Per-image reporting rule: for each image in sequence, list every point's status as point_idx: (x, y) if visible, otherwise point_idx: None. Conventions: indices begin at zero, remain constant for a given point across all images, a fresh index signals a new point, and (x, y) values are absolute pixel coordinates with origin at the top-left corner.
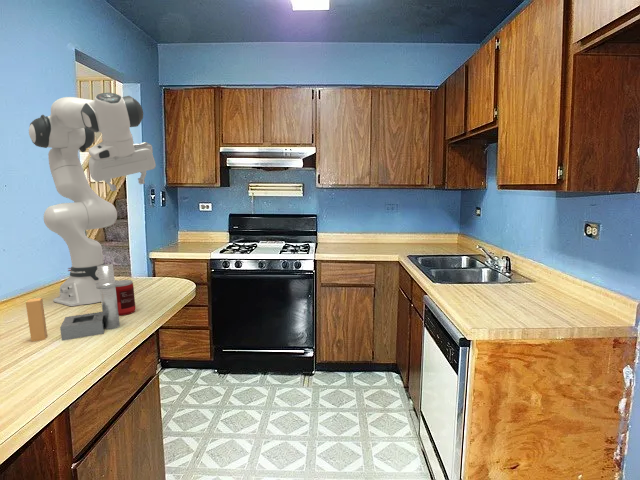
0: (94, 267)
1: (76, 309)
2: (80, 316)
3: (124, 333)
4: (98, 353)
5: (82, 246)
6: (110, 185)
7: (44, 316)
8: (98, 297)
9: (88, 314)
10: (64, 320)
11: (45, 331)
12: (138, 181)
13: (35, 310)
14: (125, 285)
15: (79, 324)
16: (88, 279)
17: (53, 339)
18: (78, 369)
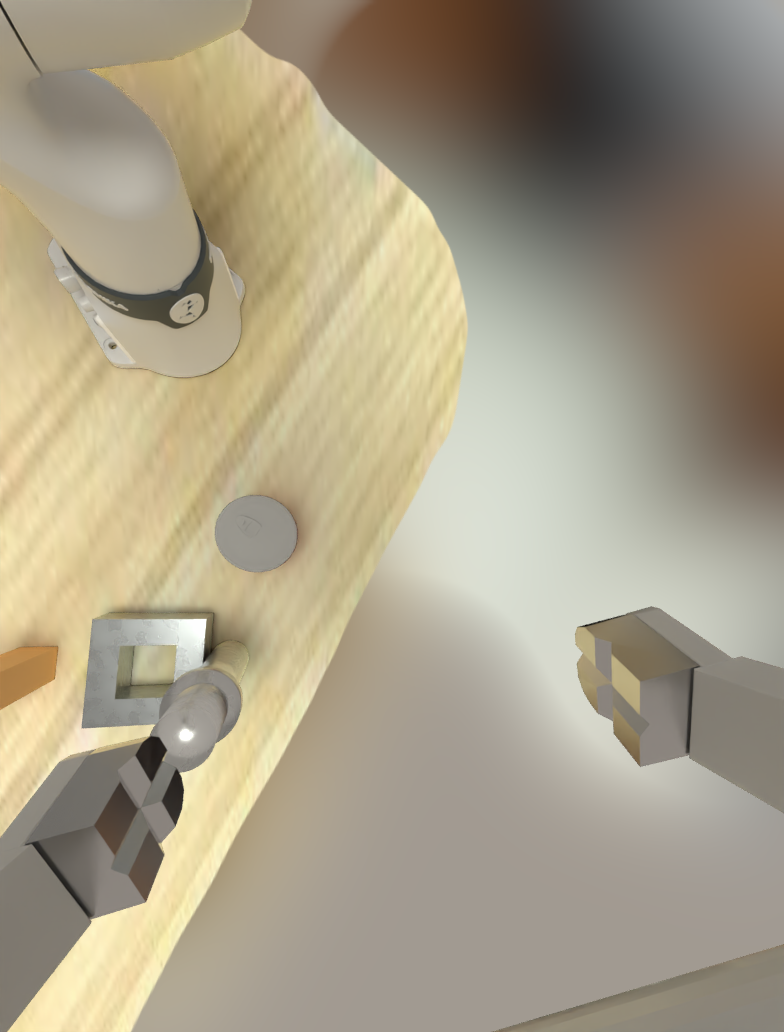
0: (161, 299)
1: (131, 411)
2: (137, 638)
3: (256, 730)
4: (191, 854)
5: (66, 218)
6: (16, 985)
7: (18, 667)
8: (196, 365)
9: (160, 629)
10: (91, 657)
11: (45, 669)
12: (595, 643)
13: None
14: (271, 569)
15: (136, 723)
16: (148, 324)
17: (77, 689)
18: (147, 942)
